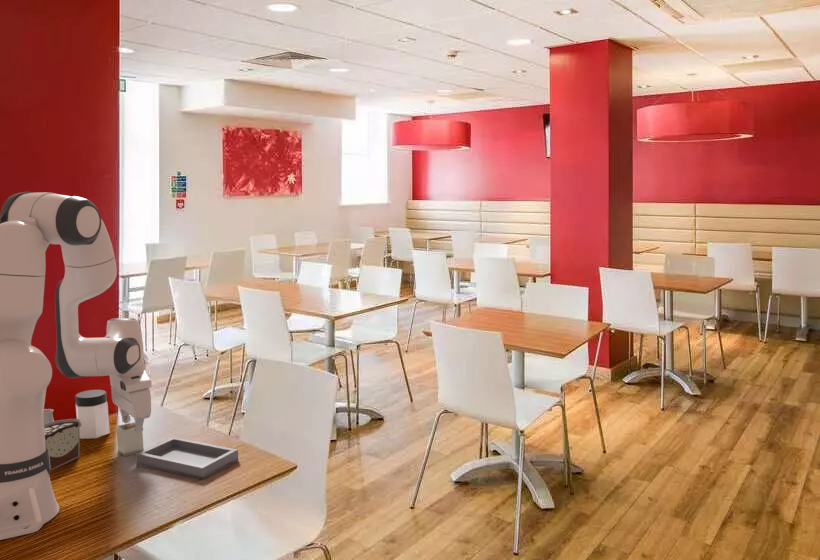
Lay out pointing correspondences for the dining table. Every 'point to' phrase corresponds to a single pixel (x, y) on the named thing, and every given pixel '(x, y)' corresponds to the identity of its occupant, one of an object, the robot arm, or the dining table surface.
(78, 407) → the jar
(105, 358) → the robot arm
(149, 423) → the dining table surface
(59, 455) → the food container
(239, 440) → the dining table surface
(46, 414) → the flask
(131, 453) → the cup
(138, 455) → the tray
